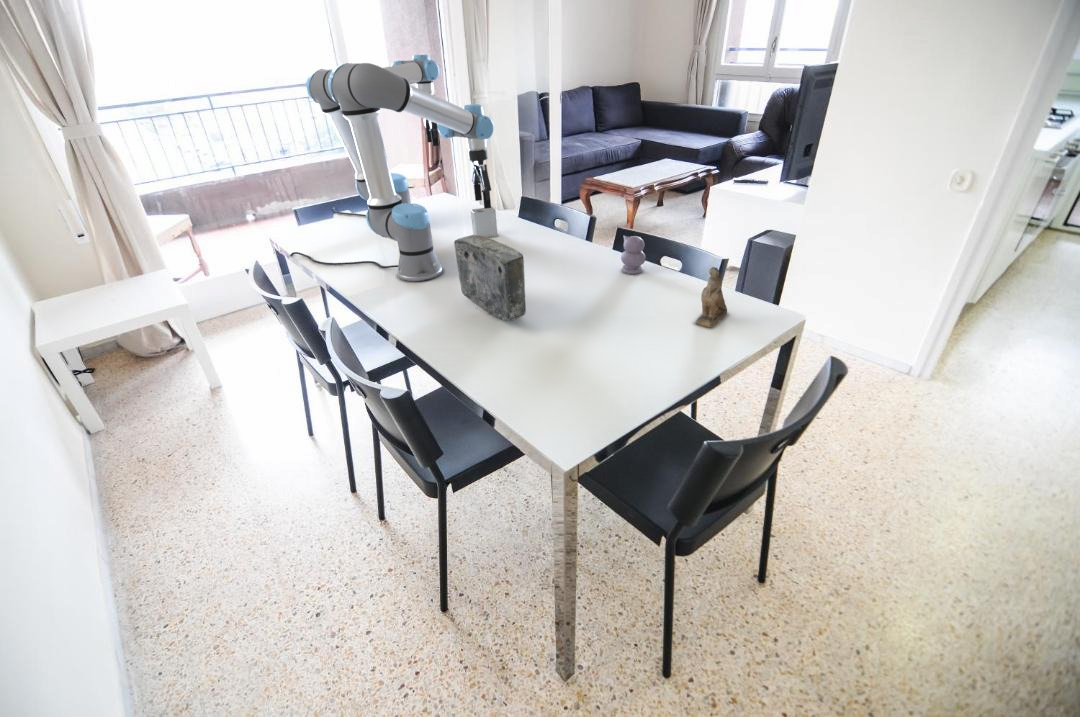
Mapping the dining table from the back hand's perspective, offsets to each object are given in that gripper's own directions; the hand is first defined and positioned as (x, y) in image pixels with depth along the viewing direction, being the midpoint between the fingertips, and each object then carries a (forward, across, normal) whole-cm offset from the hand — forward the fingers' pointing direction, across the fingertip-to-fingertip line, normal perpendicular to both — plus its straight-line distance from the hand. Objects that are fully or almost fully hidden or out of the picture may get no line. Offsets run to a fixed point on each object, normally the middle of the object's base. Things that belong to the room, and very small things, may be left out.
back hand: (433, 144), depth 239 cm
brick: (+30, -57, -7) cm, 65 cm away
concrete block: (+30, -129, +11) cm, 133 cm away
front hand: (+17, -57, -7) cm, 60 cm away
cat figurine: (+30, -119, -42) cm, 130 cm away
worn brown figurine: (+30, -160, -44) cm, 168 cm away
